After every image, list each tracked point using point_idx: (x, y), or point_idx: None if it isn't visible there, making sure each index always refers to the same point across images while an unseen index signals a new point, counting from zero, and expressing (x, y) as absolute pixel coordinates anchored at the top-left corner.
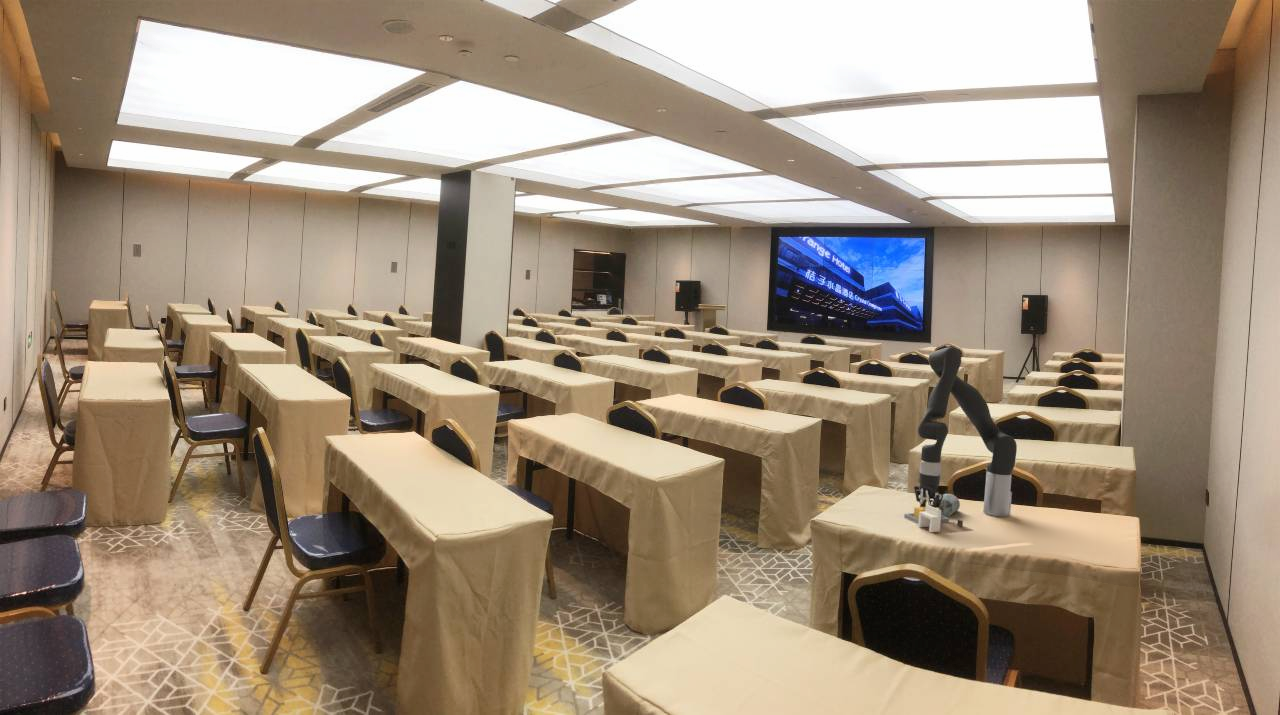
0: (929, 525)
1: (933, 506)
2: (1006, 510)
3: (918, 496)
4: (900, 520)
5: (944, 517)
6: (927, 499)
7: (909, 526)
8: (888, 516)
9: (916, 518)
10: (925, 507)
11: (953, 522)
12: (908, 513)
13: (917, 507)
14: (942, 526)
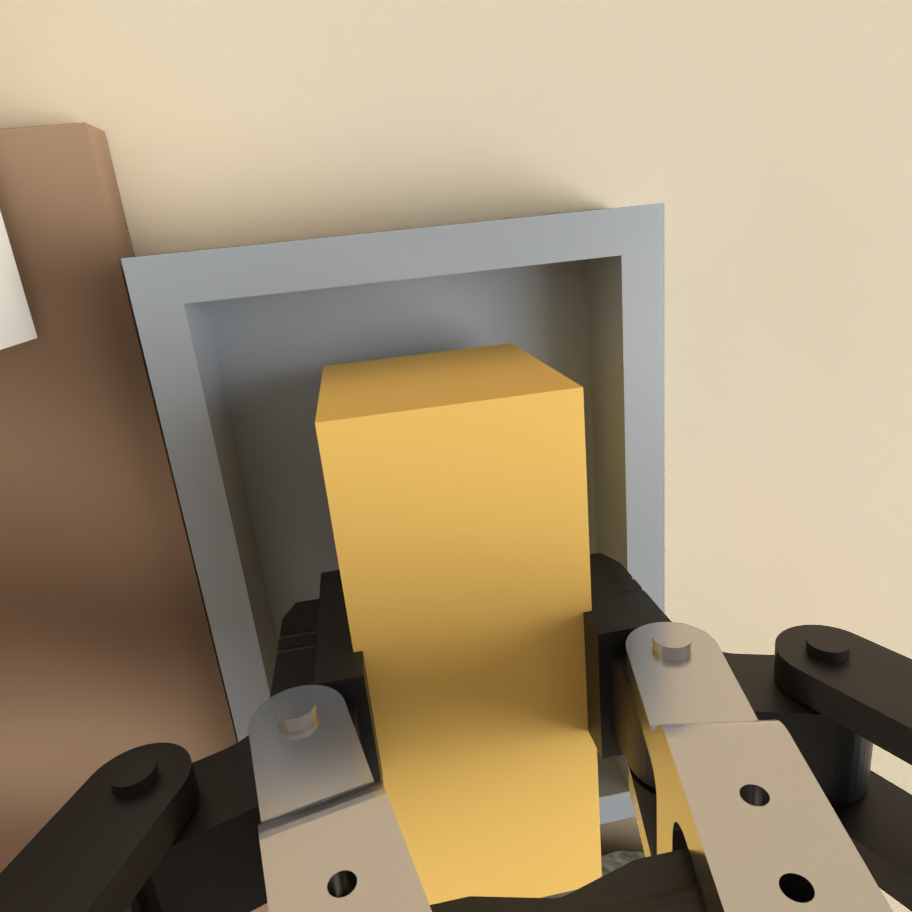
0: (85, 419)
1: (109, 791)
2: None
3: (905, 749)
4: (592, 104)
5: None
6: (360, 849)
7: (216, 41)
8: (848, 8)
9: (314, 274)
10: (517, 669)
11: None
12: (659, 311)
13: (552, 464)
14: (24, 630)
